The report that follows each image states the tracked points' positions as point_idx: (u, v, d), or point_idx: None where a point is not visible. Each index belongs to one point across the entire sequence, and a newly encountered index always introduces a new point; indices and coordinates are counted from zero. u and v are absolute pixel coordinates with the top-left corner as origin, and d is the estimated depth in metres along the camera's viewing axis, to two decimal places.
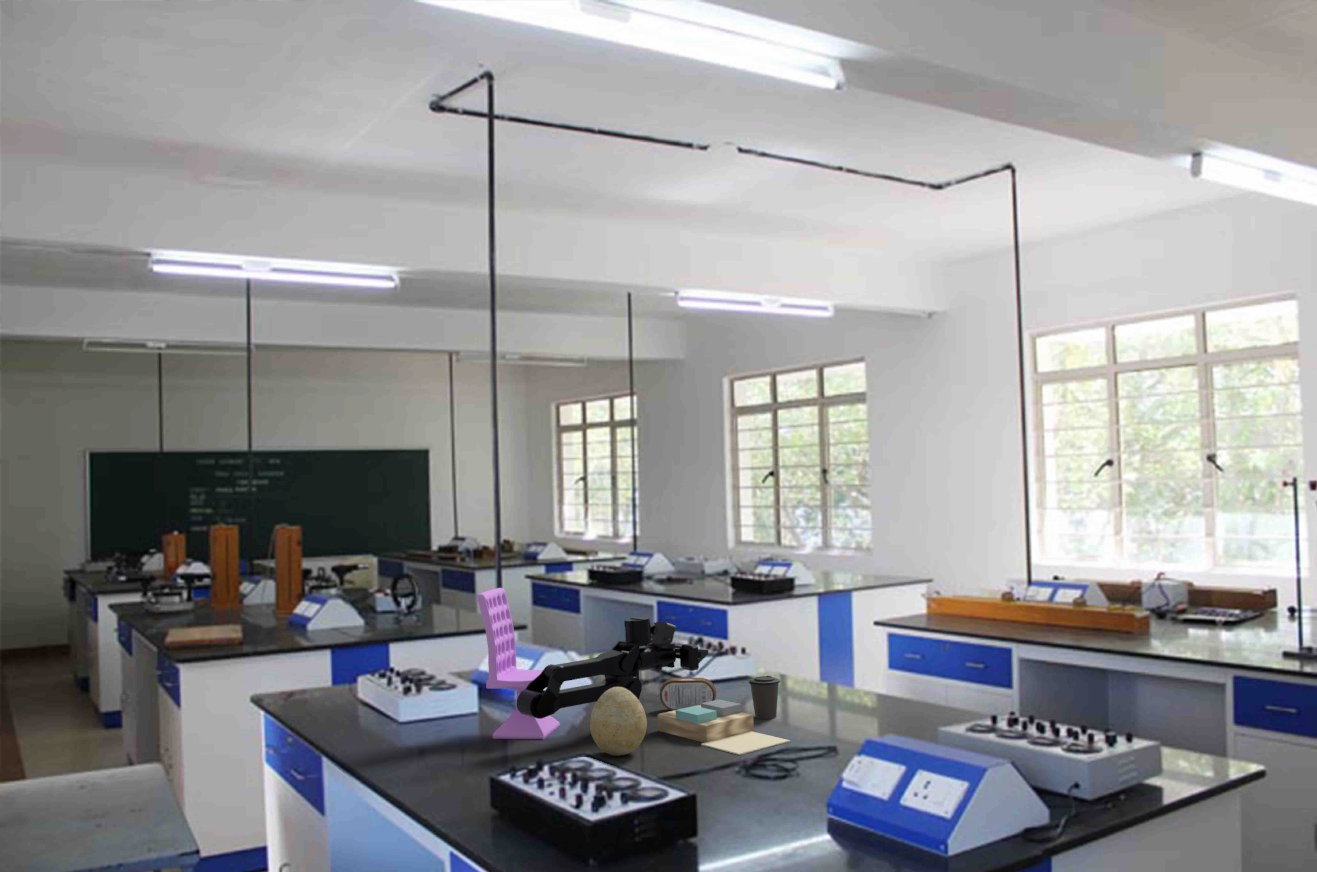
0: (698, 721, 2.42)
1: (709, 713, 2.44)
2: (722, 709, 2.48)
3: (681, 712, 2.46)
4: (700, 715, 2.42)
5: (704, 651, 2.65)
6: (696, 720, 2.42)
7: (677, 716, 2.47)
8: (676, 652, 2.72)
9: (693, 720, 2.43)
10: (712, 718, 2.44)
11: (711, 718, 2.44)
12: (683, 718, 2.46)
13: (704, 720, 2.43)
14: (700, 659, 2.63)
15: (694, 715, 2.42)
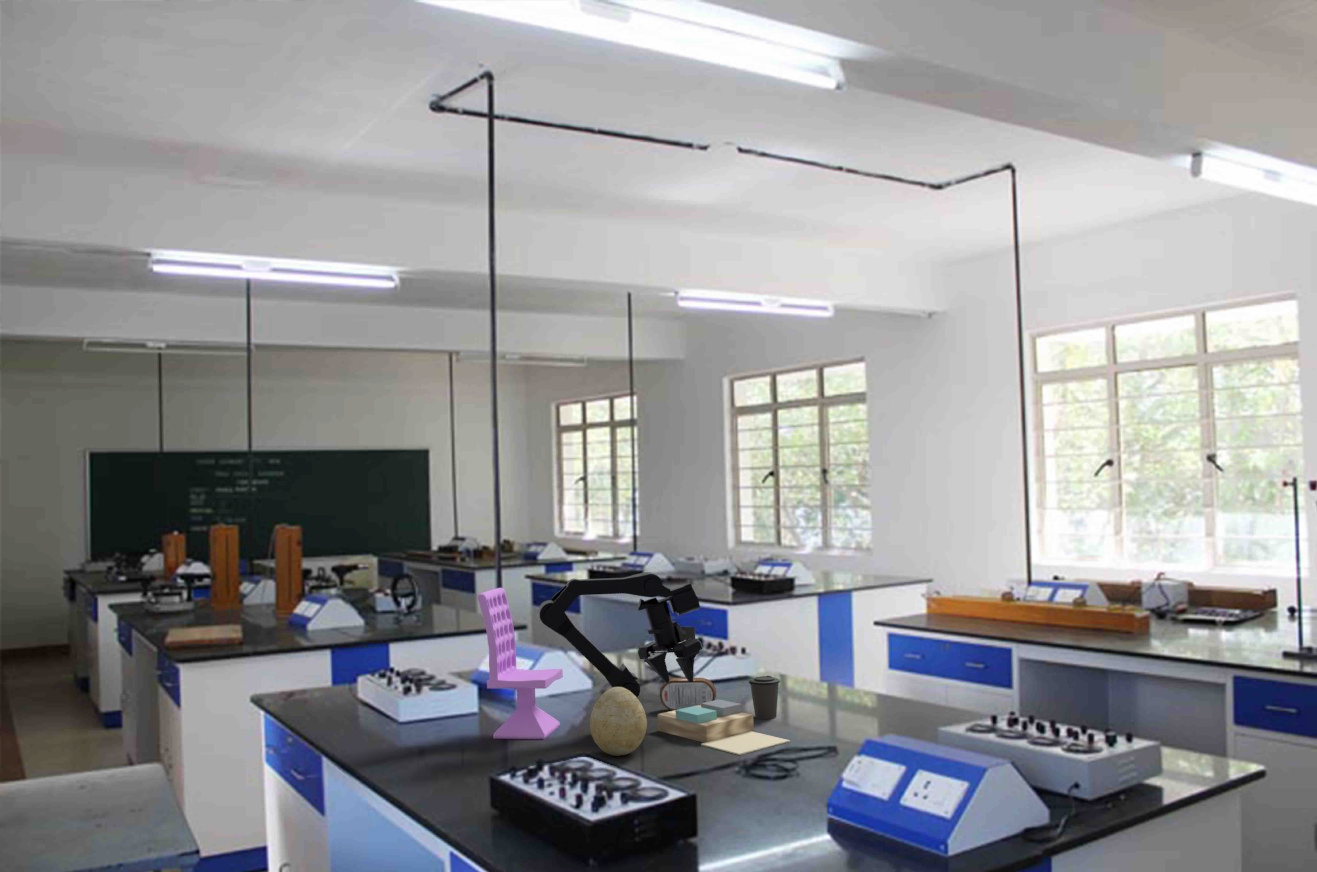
0: (698, 721, 2.42)
1: (709, 713, 2.44)
2: (722, 709, 2.48)
3: (681, 712, 2.46)
4: (700, 715, 2.42)
5: (692, 674, 2.53)
6: (696, 720, 2.42)
7: (677, 716, 2.47)
8: (662, 672, 2.59)
9: (693, 720, 2.43)
10: (712, 718, 2.44)
11: (711, 718, 2.44)
12: (683, 718, 2.46)
13: (704, 720, 2.43)
14: (686, 669, 2.51)
15: (694, 715, 2.42)
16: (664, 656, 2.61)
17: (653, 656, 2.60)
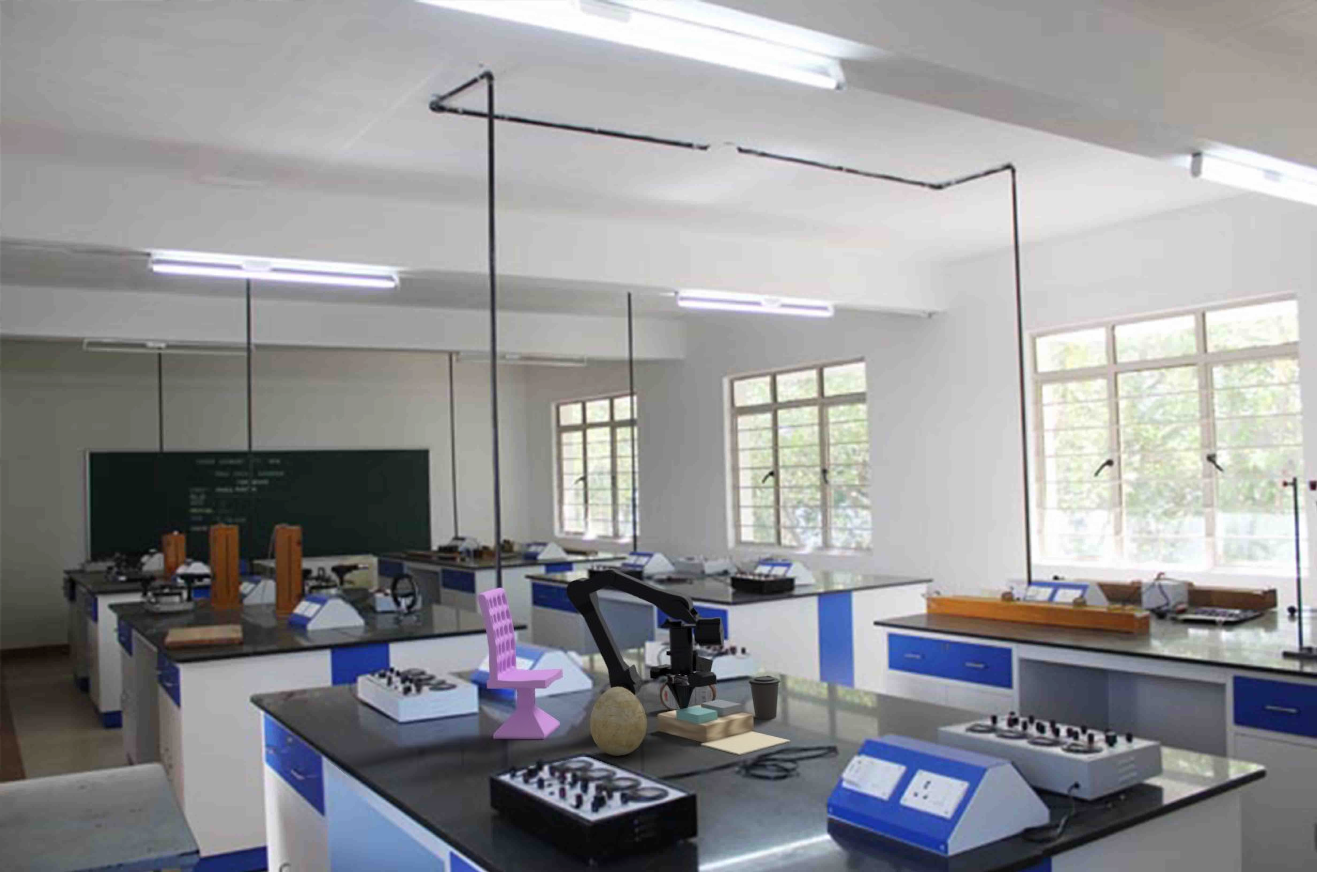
0: (699, 721, 2.42)
1: (710, 713, 2.44)
2: (722, 709, 2.48)
3: (682, 712, 2.46)
4: (701, 715, 2.42)
5: (687, 704, 2.50)
6: (697, 720, 2.42)
7: (678, 716, 2.47)
8: None
9: (694, 720, 2.42)
10: (713, 718, 2.44)
11: (712, 718, 2.44)
12: (684, 718, 2.45)
13: (705, 720, 2.43)
14: (683, 697, 2.48)
15: (695, 715, 2.42)
16: None
17: (676, 681, 2.51)
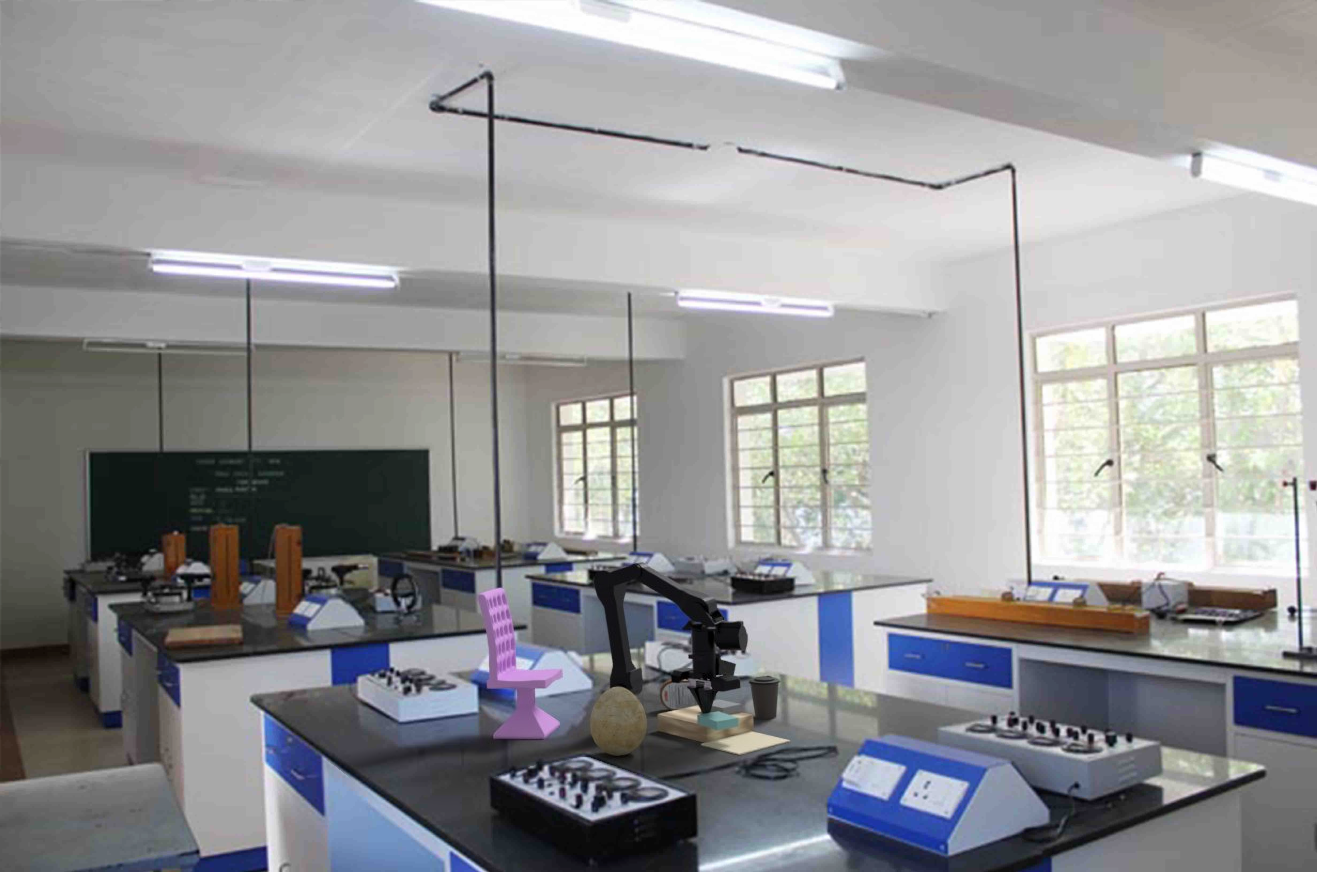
0: (717, 728, 2.35)
1: (730, 720, 2.37)
2: (722, 709, 2.48)
3: (702, 717, 2.40)
4: (720, 722, 2.35)
5: (710, 708, 2.43)
6: (715, 727, 2.35)
7: (699, 721, 2.41)
8: None
9: (713, 726, 2.36)
10: (733, 725, 2.37)
11: (732, 725, 2.37)
12: (704, 724, 2.39)
13: (724, 727, 2.36)
14: (705, 701, 2.42)
15: (714, 721, 2.36)
16: None
17: (698, 685, 2.44)
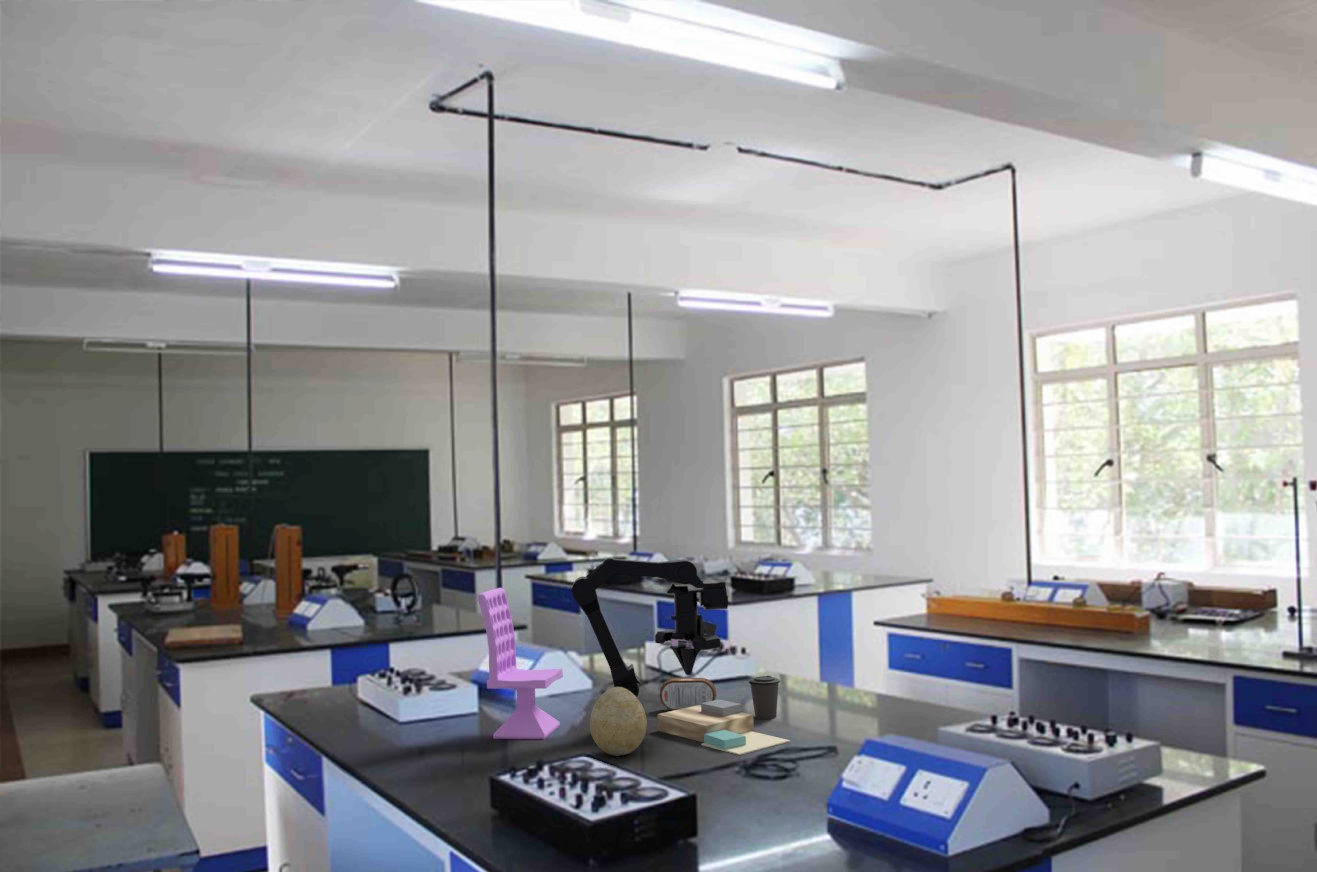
0: (725, 747, 2.32)
1: (737, 738, 2.34)
2: (722, 709, 2.48)
3: (709, 736, 2.37)
4: (727, 740, 2.32)
5: (691, 667, 2.54)
6: (723, 745, 2.32)
7: (706, 740, 2.38)
8: None
9: (720, 745, 2.33)
10: (741, 744, 2.34)
11: (740, 744, 2.34)
12: (711, 743, 2.36)
13: (732, 746, 2.33)
14: (687, 660, 2.53)
15: (721, 740, 2.33)
16: None
17: (680, 645, 2.55)
